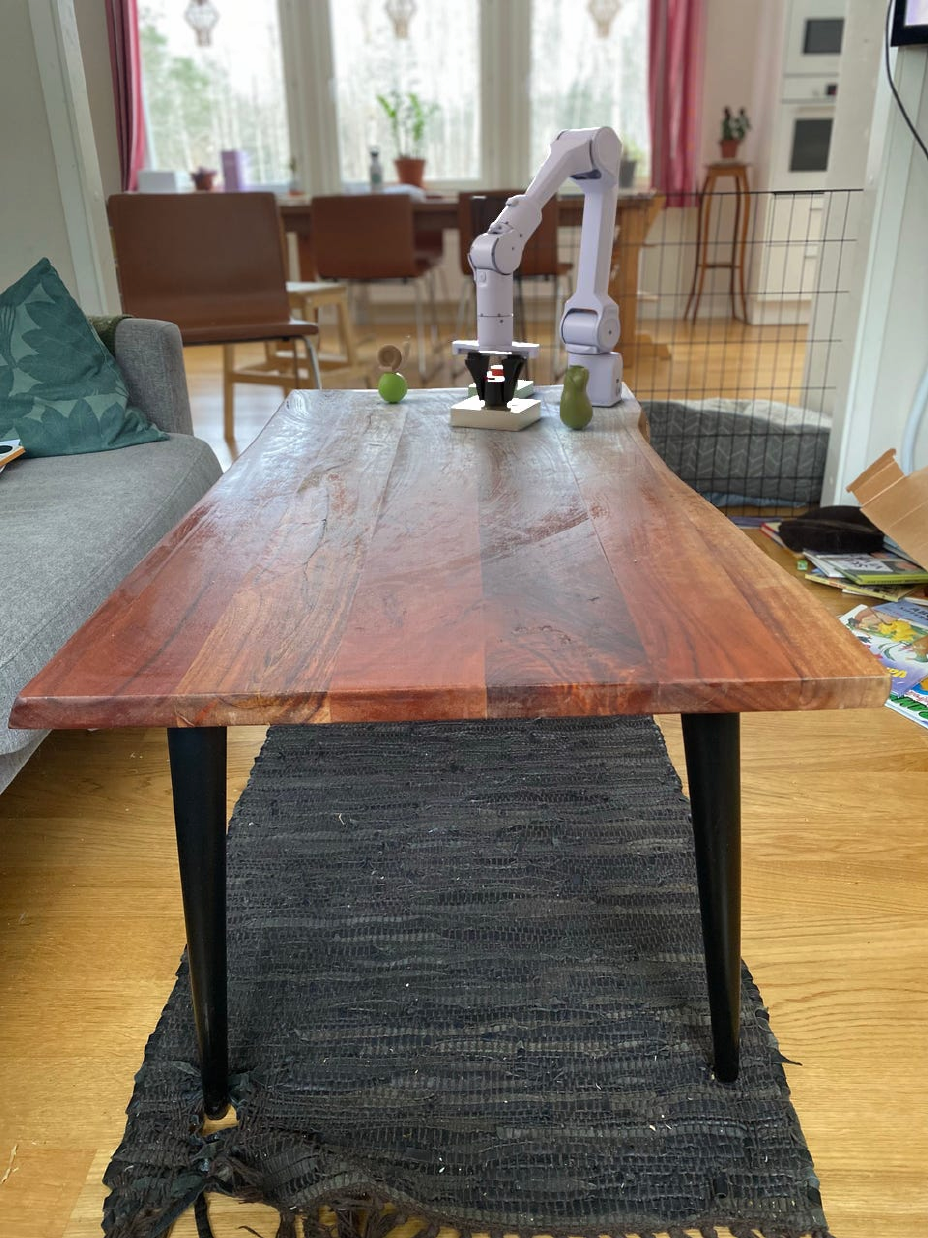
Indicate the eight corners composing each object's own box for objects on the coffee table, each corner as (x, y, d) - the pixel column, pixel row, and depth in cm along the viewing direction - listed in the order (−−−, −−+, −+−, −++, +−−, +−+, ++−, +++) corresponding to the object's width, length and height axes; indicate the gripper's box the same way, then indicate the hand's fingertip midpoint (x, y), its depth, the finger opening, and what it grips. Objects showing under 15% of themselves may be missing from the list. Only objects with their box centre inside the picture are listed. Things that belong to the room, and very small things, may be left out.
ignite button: (513, 375, 176) (513, 365, 175) (506, 378, 173) (506, 368, 172) (495, 374, 177) (495, 364, 176) (488, 377, 174) (488, 367, 173)
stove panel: (540, 418, 158) (540, 399, 156) (518, 431, 149) (518, 411, 148) (475, 413, 162) (475, 395, 161) (450, 425, 154) (450, 406, 153)
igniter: (533, 393, 178) (533, 371, 176) (517, 401, 171) (517, 379, 169) (485, 390, 182) (485, 369, 180) (468, 397, 175) (467, 376, 173)
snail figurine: (409, 405, 170) (405, 337, 165) (375, 404, 171) (371, 337, 166) (416, 399, 175) (413, 333, 170) (383, 399, 176) (379, 332, 171)
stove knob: (511, 402, 156) (511, 375, 154) (502, 406, 152) (502, 379, 150) (489, 400, 157) (489, 374, 155) (479, 405, 154) (479, 378, 152)
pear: (563, 423, 154) (564, 361, 149) (595, 425, 152) (597, 362, 148) (555, 431, 149) (557, 367, 145) (588, 432, 147) (590, 368, 143)
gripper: (443, 316, 148) (445, 402, 154) (528, 319, 143) (527, 408, 148) (462, 311, 154) (463, 394, 160) (544, 313, 149) (543, 400, 154)
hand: (495, 400), depth 155 cm, fingers closed on stove knob, 4 cm apart
